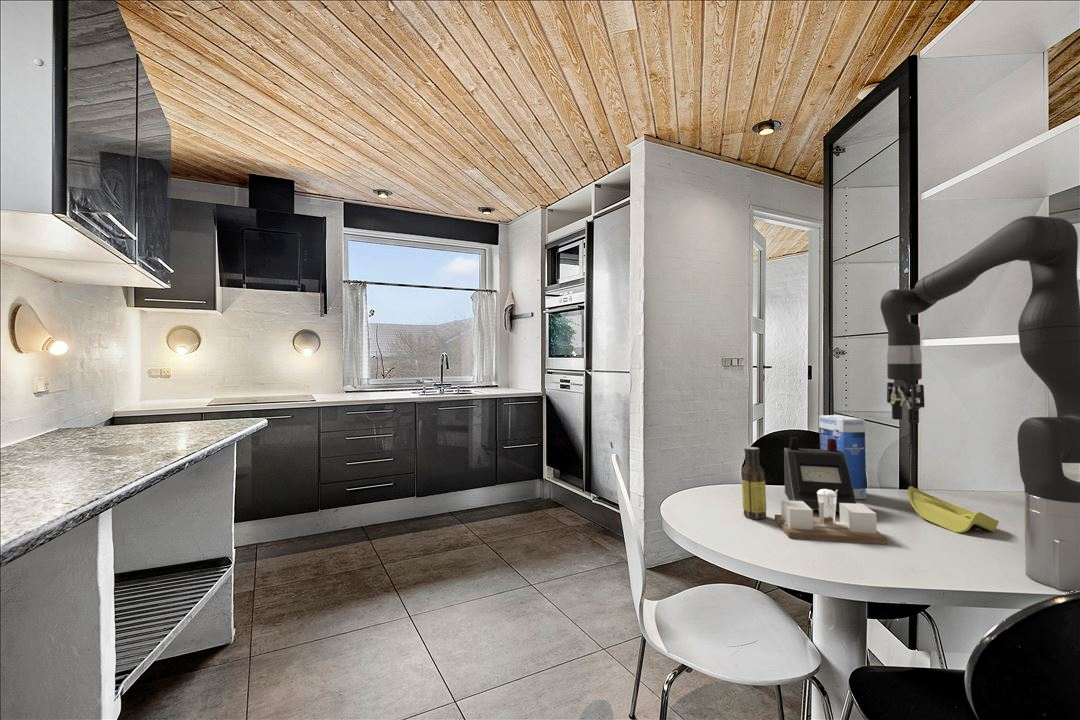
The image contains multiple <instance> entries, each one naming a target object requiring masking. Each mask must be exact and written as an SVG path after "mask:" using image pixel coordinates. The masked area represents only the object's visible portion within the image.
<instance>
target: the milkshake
mask: <svg viewBox="0 0 1080 720" xmlns="http://www.w3.org/2000/svg"><path fill="white" fill-rule="evenodd" d="M837 490H838V489H836V492H834V491H832V490H828V489H820V490H819V491H818V492H817V498H818V506H819V510H818V515H819V516H818V517H820V523H821V524H822V525H825V526H834V525H835V518H836V512H837V511H836V501H837V494H836V493H837Z"/></svg>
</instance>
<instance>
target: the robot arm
mask: <svg viewBox="0 0 1080 720" xmlns="http://www.w3.org/2000/svg"><path fill="white" fill-rule="evenodd" d="M1078 242H1079V240H1078V232H1077V230H1076V228H1075V226H1074V225H1073V223H1071V222H1070V221H1068V220H1067V219H1064V218H1061V217H1053V216H1052V217H1051V216H1039V215H1028V216H1027V215H1026V216H1022V217H1020V218H1017V219H1015V220H1013V221H1011V222H1009V223H1008V224H1007V225H1005V226H1004V227H1002V228H1000V229H999V230H998V231H996V232H995V233H993V234H992V235H990V236H989V237H988V238H987V239H985V240H984V241H982V242H981V243H979V244H978V245H976V246H975V247H974V248H972V249H971V250H970V251H968V252H967V253H964V254H963V255H962V256H960V257H959V258H957V259H955V260H954V261H952V262H950V263H949V264H946V265H945V266H942V267H941V268H939V269H937V270H935V271H933V272H931V273H929V274H926V276H923V277H922V278H920V279H919V280H917V282H916V283H915V285H914V288H911V289H910V288H909V289H906V288H905V289H903V288H902V289H900V288H899V289H898V288H897V289H890V290H888V291H886V292H885V293H884V294H883V295H882V297H881V300H880V312H881V314H882V318H883V321H884V325H885V327H886V330H887V338H888V339H887V345H888V346H887V354H886V362H887V363H886V365H887V367H886V369H887V373H886V375H887V379H888V380H890V381H891V380H893V381H891V382H890V381H888V382H887V383H886V384H887V385H886V403H888V404H889V405H890V406H891V419H892V420H902V419H903V406H902V405H903V403H905V404H906V406H907V422H908V424H917V425H918V424H919V422H920V410H921V408H925V388H924V387H925V386H924V384H917V380H918V381H920V380H922V378H923V375H922V374H923V364H922V363H923V362H922V361H923V360H922V359H923V357H922V356H923V355H922V347H921V329H920V326H919V325H917V324H915V323H912V322H910V321H909V318H908V316H914V315H918V314H920V313H923V312H925V311H927V310H928V309H930V308H931V307H933V306H934V305H936V304H937V303H938V302H939V301H942V300H943V299H946V298H948V297H950V296H952V295H954V294H957V293H959V292H961V291H963V290H964V289H966V288H967V287H969V286H970V285H971V284H972V283H974V281H976V280H977V278H979V277H980V276H981V275H982V274H984V273H985V272H987V271H989V270H991V269H994V268H995V267H998V266H1001V265H1005V264H1008V263H1010V262H1015V261H1020V262H1028V263H1029V266H1030V268H1029V269H1030V272H1031V281H1032V282H1031V283H1032V284H1031V285H1032V286H1031V292H1030V294H1029V297H1028V299H1027V302H1026V303H1025V306H1024V308H1023V310H1022V312H1021V314H1020V315H1019V319H1018V326H1017V327H1018V328H1017V329H1018V330H1017V331H1018V340H1019V341H1018V342H1019V350H1020V354H1021V356H1022V358H1023V360H1024V361H1025V362H1026V364H1027V365H1028V366H1029V367H1030V369H1031V370H1032V371H1033V372H1034V374H1035V375H1036V376H1037V377H1038V378H1039V379H1040V380H1041V381H1042V382H1043V383H1044V384H1045V385H1046V387H1047V388H1048V390H1049V392H1050V393H1051V396H1052V397H1053V401H1054V405H1055V409H1056V416H1050V417H1049V416H1037V417H1035V416H1034V417H1029V418H1026V419H1024V420H1023V421H1022V422H1021V424H1020V425H1019V427H1018V431H1017V452H1018V464H1019V474H1020V477H1021V481H1022V483H1023V486H1024V549H1025V550H1024V551H1025V554H1024V555H1025V558H1024V559H1025V576H1027V577H1028V578H1029V579H1031V580H1034V581H1035V582H1038V583H1040V584H1044V585H1046V586H1050V587H1052V588H1054V589H1057V590H1060V591H1070V592H1071V591H1072V592H1080V481H1077V480H1074V479H1071V478H1069V477H1067V476H1066V475H1065V473H1064V469H1063V468H1064V467H1063V464H1080V293H1079V286H1078V250H1079V247H1078V246H1079V245H1078V244H1079V243H1078Z"/></svg>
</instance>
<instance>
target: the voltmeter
mask: <svg viewBox="0 0 1080 720" xmlns="http://www.w3.org/2000/svg"><path fill="white" fill-rule="evenodd" d="M788 446H789V447H784V449H783V451H784V452H783V454H784V456H783V458H784V462H783V463H784V494H785V496H786V498H787V499H788V500H789V501H803V502H804V503H805V504H807V505H808V506H809V507H810V508H811V509H812V510H815V511H816V510H818V511H819V506H818V498H817V492H818V491H819V490H820V489H828V490H832V491H834V492H836V489H838V490H837V493H836V494H837V501H836V512H840V507H839V503H852V504H858V503H857V499H855V495H854V491H853V486H852V482H851V478H850V474H849V469H848V465H847V461H846V457H845V453H844V452H842V451H841V450H837V443H836V439H828V444H827V450H820V448H819V449H815V448H814V449H813V448H799V438H798V437H794V436H793V437H792V436H791V437H789V445H788Z"/></svg>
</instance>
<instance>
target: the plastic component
mask: <svg viewBox="0 0 1080 720" xmlns="http://www.w3.org/2000/svg"><path fill="white" fill-rule="evenodd" d="M907 495H908V499H909V502H910V504H911V506H912V508H913V509H914V511H915V512H916V513H917V514H918V515H919V516H921V517H922V518H923V519H924V520H926V521H929V522H930V523H933V524H935V525H937V526H939V527H942V528H944V529H946V530H949V531H951V532H954V533H957V534H963V533H966V532H967V531H969V530H970V529H971V527H972V526H976V527H979V528H981V529H984V530H986V531H989V532H995V531H996V528H997V527H998V524H999V523H1000V521H999V520H997V519H995V518H993V517H991V516H989V515H987V514H984V513H983V512H981V511H975V512H974V511H971V510H969V509H966V508H964V507H961V506H958V505H956V504H953V503H950V502H947V501H945V500H943V499H941V498H937V497H935V496H933V495H930V494H929V493H926V492H925V491H921V490H920V489H918V488H916V487H914V486H911V485H910V486H908V488H907Z"/></svg>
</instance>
